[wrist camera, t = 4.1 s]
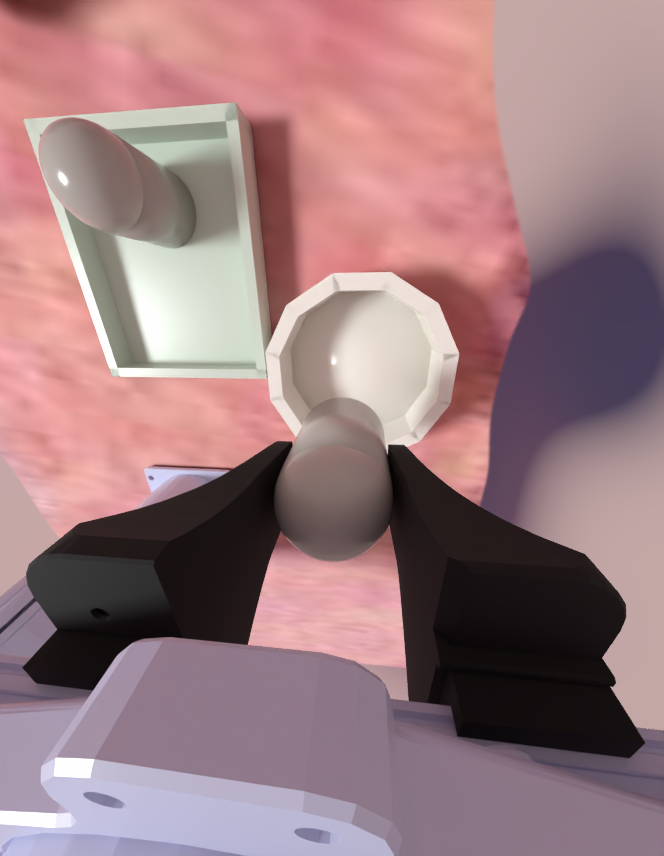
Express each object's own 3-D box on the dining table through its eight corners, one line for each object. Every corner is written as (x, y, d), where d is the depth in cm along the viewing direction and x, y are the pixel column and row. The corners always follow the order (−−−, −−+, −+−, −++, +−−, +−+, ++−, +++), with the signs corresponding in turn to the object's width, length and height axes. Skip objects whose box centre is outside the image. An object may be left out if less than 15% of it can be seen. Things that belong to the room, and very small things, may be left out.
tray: (275, 371, 20) (266, 378, 18) (133, 369, 21) (112, 376, 19) (251, 126, 15) (236, 102, 13) (61, 139, 16) (23, 119, 14)
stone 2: (383, 470, 14) (399, 594, 8) (307, 471, 14) (269, 589, 8) (383, 395, 12) (402, 483, 6) (296, 399, 12) (242, 484, 7)
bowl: (428, 437, 21) (440, 461, 18) (288, 432, 22) (276, 455, 19) (452, 275, 17) (474, 270, 14) (275, 278, 18) (256, 274, 15)
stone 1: (202, 247, 17) (121, 222, 11) (143, 249, 17) (36, 225, 12) (188, 165, 15) (85, 87, 10) (123, 169, 16) (-13, 96, 10)
